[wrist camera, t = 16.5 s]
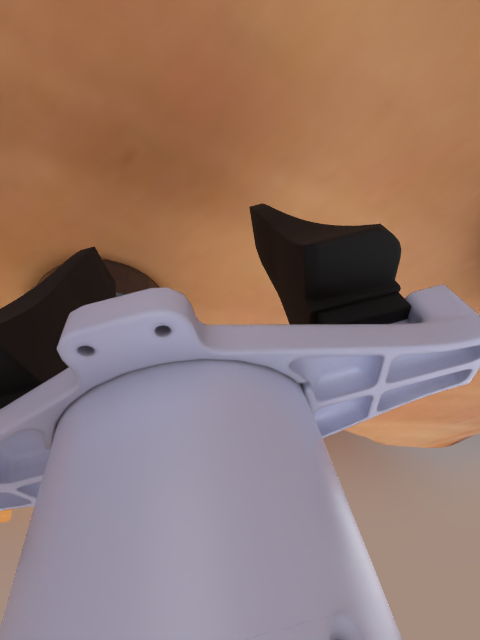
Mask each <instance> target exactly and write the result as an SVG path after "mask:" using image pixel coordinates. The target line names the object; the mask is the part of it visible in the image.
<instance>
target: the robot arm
mask: <svg viewBox="0 0 480 640" xmlns="http://www.w3.org/2000/svg"><path fill="white" fill-rule="evenodd" d="M250 213H251V220H252V226H253V232H254V239H255V245H256V249H257V252H258V255H259V257H260V260H261V263H262V265H263V267H264V268H265V270H266V272H267V274H268V276H269V278H270V280H271V282H272V284H273V285H274V287H275V289H276V291H277V293H278V295H279V297H280V299H281V302H282V305H283V307H284V310H285V313H286V315H287V318H288V321H289V323H290V325H206V324H203V323H201V322H200V321H199V320H198V319H197V317H196V315H195V313H194V310H193V308H192V305H191V303H190V302H189V301H188V300H187V298H186V297H185V296H184V295H183V294H182V293H180V292H178V291H175V290H173V289H170V288H150V289H146V290H142V291H138V292H134V293H130V294H126V295H122V296H119V297H116V282H115V280H114V279H113V277H112V275H111V274H110V272H109V270H108V269H107V267H106V265H105V264H104V262H103V260H102V259H101V257H100V255H99V254H98V252H97V250H96V249H95V247H91V248H87V249H84V250H80V251H79V252H77V253H76V254H74V255H73V256H72V257H70V258H69V259H68V260H67V261H66V262H64V263H63V264H62V265H61V266H60V267H59V268H57V269H56V270H55V271H54V272H53V273H52V274H50V275H49V276H48V277H47V278H45V279H44V280H43V281H42V282H41V283H39V284H38V285H37V286H35V287H34V288H33V289H31V290H30V291H29V292H27V293H26V294H24V295H23V296H21V297H20V298H18V299H17V300H15V301H13V302H12V303H10V304H8V305H6V306H5V307H3V308H1V309H0V511H1V510H8V509H14V508H21V507H29V506H34V510H33V513H32V517H31V520H30V524H29V528H28V531H27V535H26V538H25V542H24V545H23V549H22V552H21V556H20V559H19V563H18V567H17V570H16V573H15V577H14V581H13V584H12V588H11V591H10V595H9V598H8V602H7V606H6V609H5V612H4V616H3V620H2V623H1V627H0V640H402V638H401V636H400V633H399V630H398V628H397V625H396V623H395V620H394V618H393V615H392V613H391V610H390V608H389V605H388V602H387V601H386V598H385V595H384V593H383V590H382V587H381V585H380V582H379V580H378V578H377V575H376V572H375V570H374V567H373V565H372V562H371V560H370V557H369V555H368V552H367V550H366V547H365V544H364V542H363V539H362V537H361V534H360V532H359V529H358V527H357V524H356V522H355V519H354V517H353V514H352V512H351V509H350V507H349V504H348V502H347V499H346V497H345V494H344V492H343V489H342V487H341V484H340V482H339V479H338V476H337V474H336V472H335V469H334V466H333V464H332V461H331V459H330V456H329V454H328V451H327V449H326V446H325V444H324V441H323V439H322V438H325V437H327V436H329V435H332V434H334V433H337V432H339V431H341V430H344V429H346V428H349V427H351V426H353V425H356V424H358V423H361V422H363V421H365V420H368V419H370V418H373V417H375V416H377V415H380V414H382V413H385V412H387V411H389V410H392V409H394V408H397V407H399V406H402V405H404V404H407V403H409V402H412V401H415V400H417V399H420V398H423V397H426V396H429V395H432V394H435V393H437V392H440V391H444V390H447V389H451V388H454V387H458V386H461V385H465V384H468V383H469V382H470V381H471V380H472V378H473V377H474V375H475V374H476V372H477V371H478V369H479V368H480V315H479V314H478V313H477V312H475V311H474V310H473V309H472V308H471V307H470V306H468V305H467V304H466V303H465V302H464V301H463V300H462V299H460V298H459V297H458V296H457V295H456V294H455V293H453V292H452V291H451V290H450V289H449V288H448V287H447V286H445V285H444V284H443V285H438V286H434V287H430V288H427V289H423V290H419V291H415V292H413V293H411V294H409V295H408V296H407V297H406V298H405V299H404V298H403V296H402V295H401V294H400V293H399V291H400V289H401V288H400V285H399V284H398V283H397V282H396V281H395V277H396V273H397V269H398V265H399V261H400V256H401V247H400V243H399V241H398V239H397V238H396V237H395V236H394V235H393V234H392V233H391V232H390V231H388V230H387V229H386V228H385V227H384V226H382V225H381V224H373V225H362V226H335V225H326V224H319V223H314V222H309V221H305V220H302V219H299V218H296V217H293V216H290V215H288V214H285V213H283V212H281V211H278V210H276V209H274V208H272V207H270V206H268V205H266V204H259V205H255V206H251V207H250Z"/></svg>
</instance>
